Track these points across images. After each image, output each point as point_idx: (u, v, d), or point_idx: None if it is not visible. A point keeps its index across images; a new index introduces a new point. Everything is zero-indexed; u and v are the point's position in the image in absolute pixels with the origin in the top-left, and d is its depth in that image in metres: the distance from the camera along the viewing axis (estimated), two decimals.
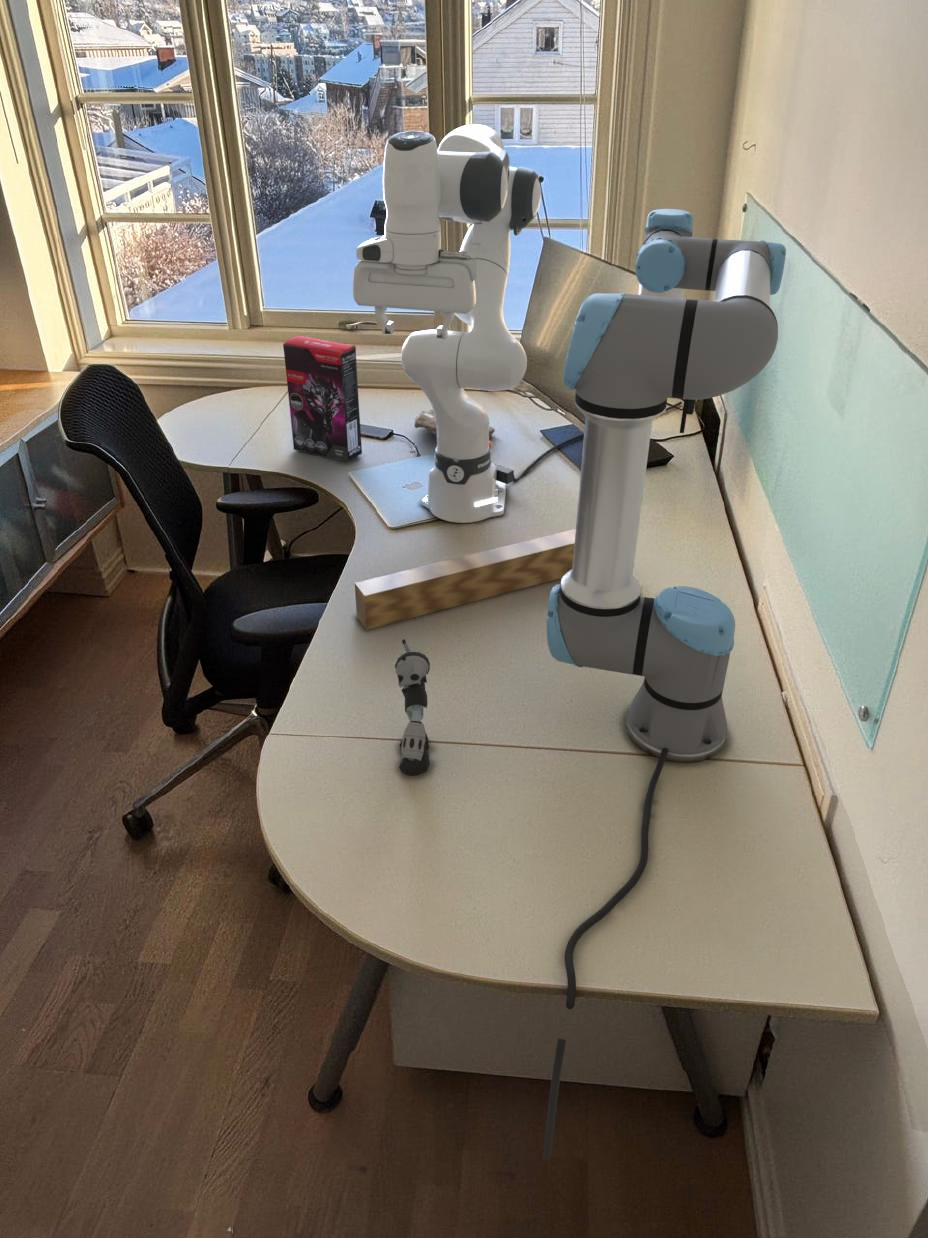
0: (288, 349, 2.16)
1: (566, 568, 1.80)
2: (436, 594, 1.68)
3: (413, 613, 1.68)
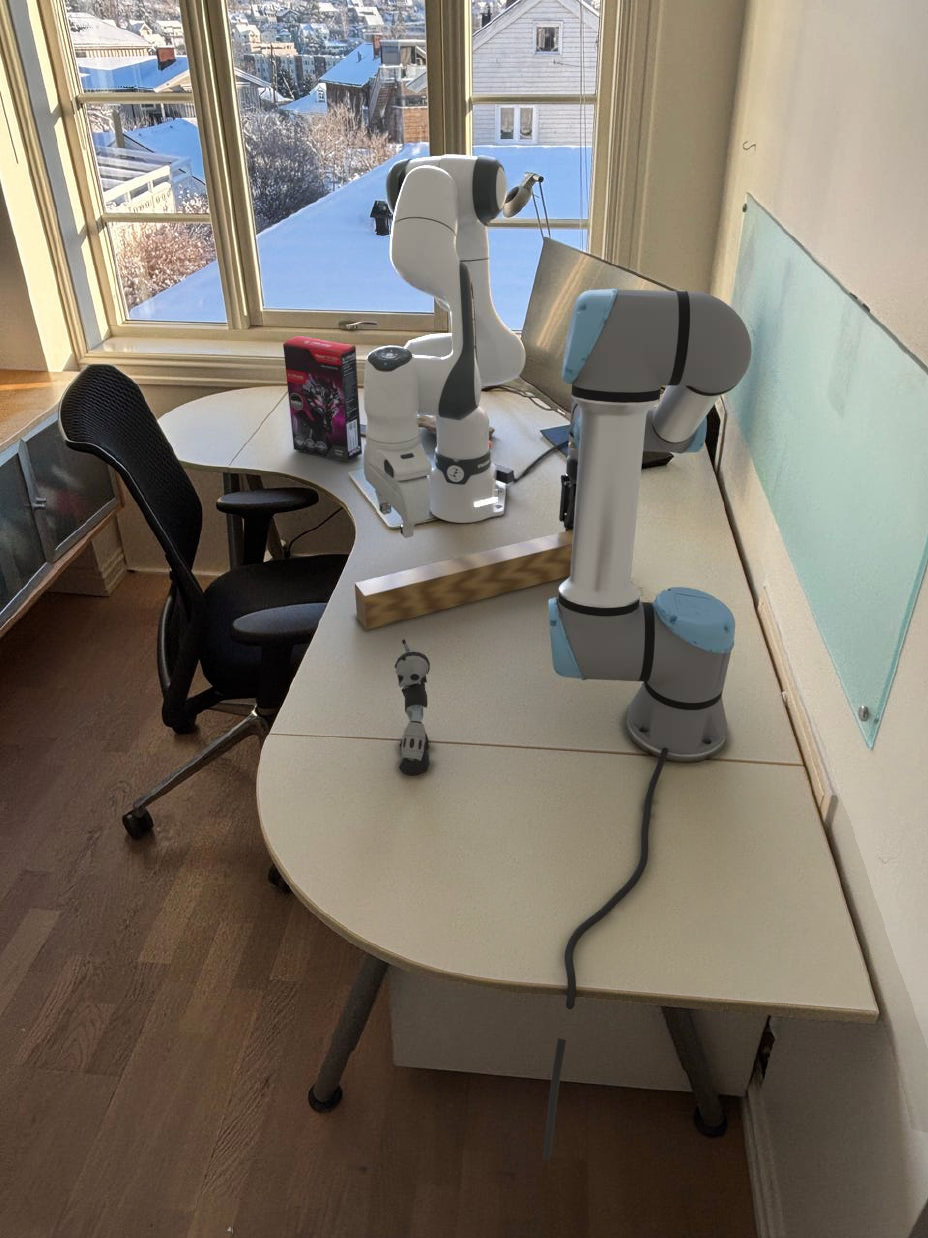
0: (288, 349, 2.16)
1: (566, 568, 1.80)
2: (436, 594, 1.68)
3: (413, 613, 1.68)
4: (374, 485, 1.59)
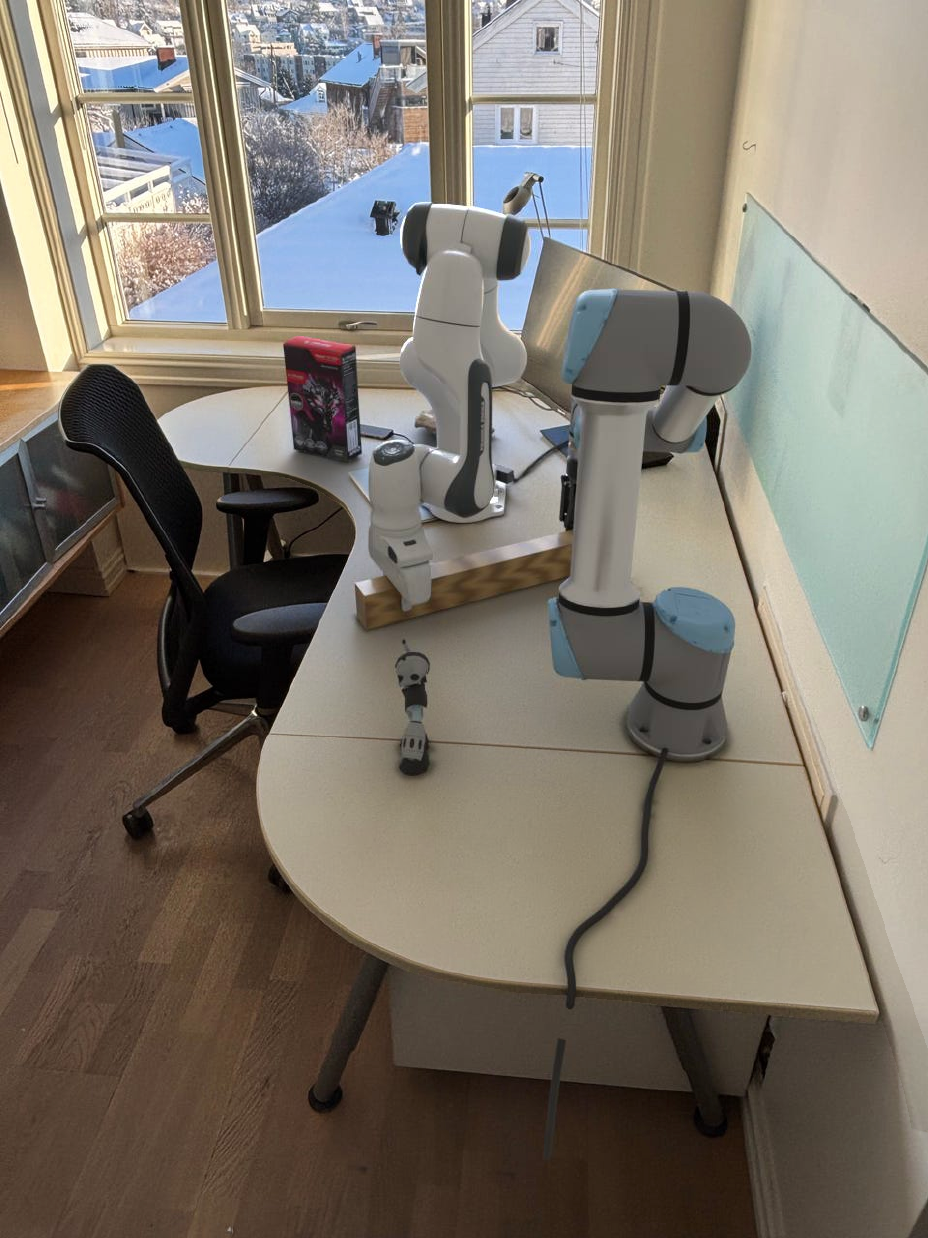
0: (288, 349, 2.16)
1: (566, 568, 1.80)
2: (436, 594, 1.68)
3: (413, 613, 1.68)
4: (378, 564, 1.68)
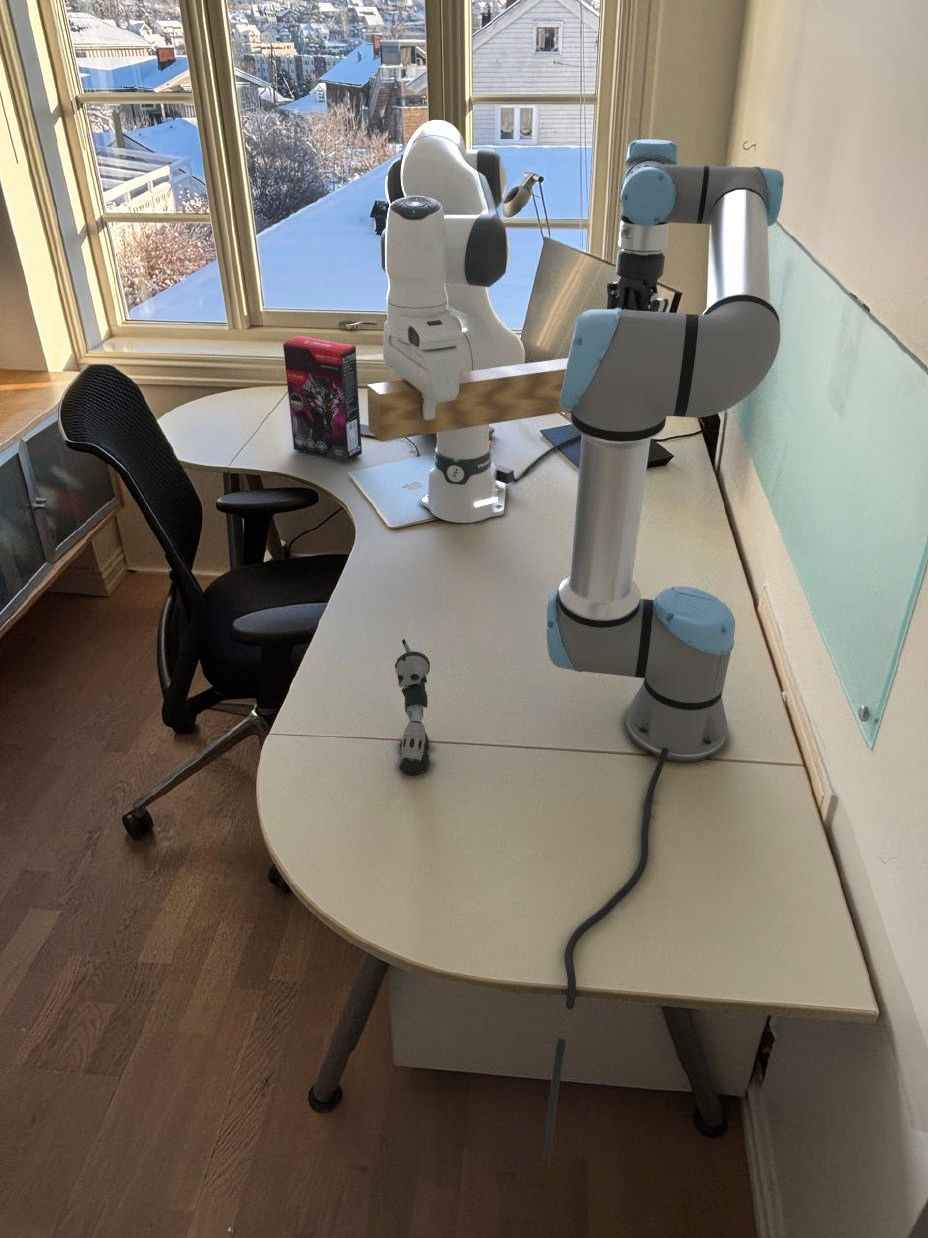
0: (288, 349, 2.16)
1: None
2: (463, 405, 1.42)
3: (436, 427, 1.42)
4: (395, 368, 1.42)
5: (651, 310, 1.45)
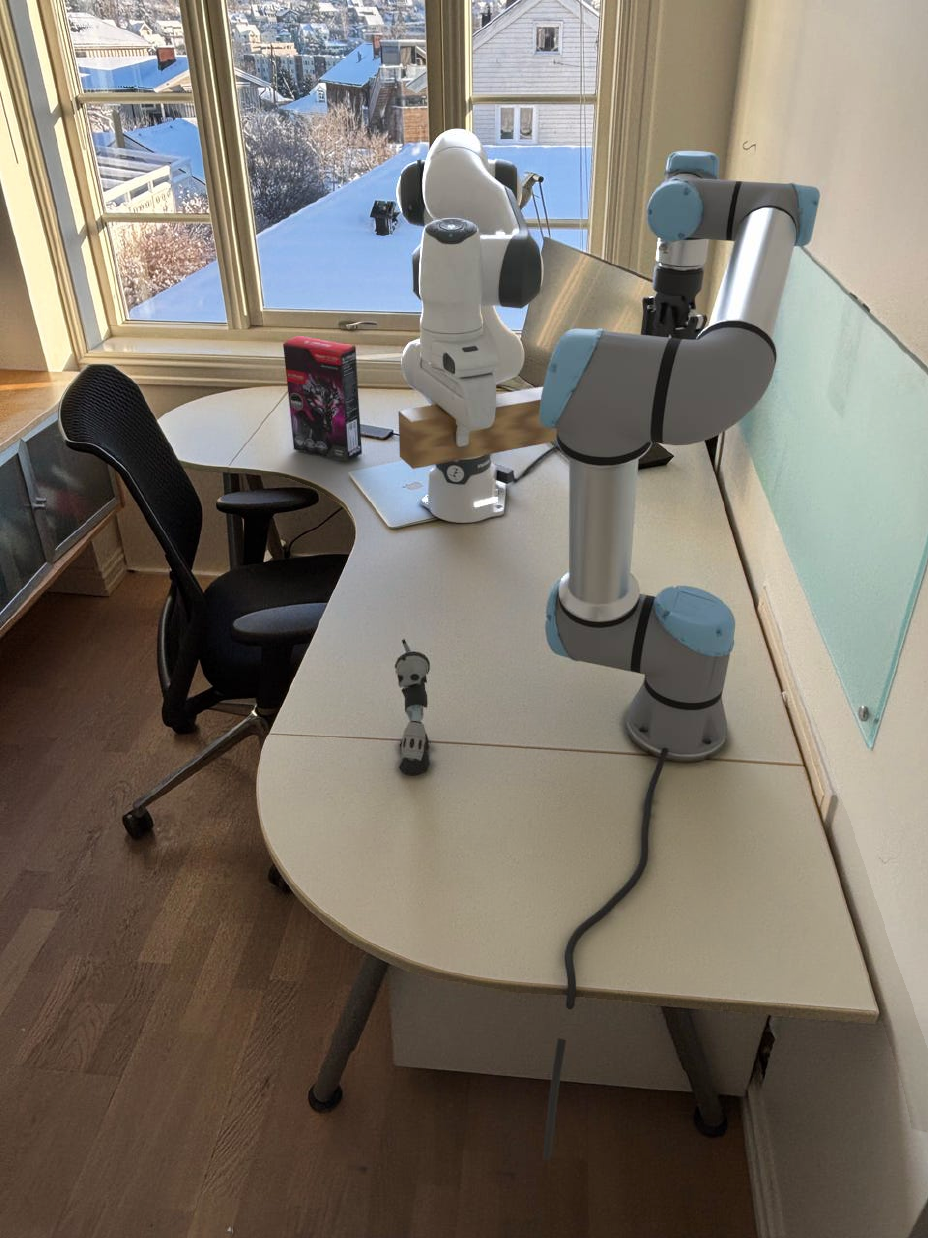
0: (288, 349, 2.16)
1: None
2: (496, 429, 1.38)
3: (469, 452, 1.38)
4: (426, 392, 1.38)
5: (689, 327, 1.41)
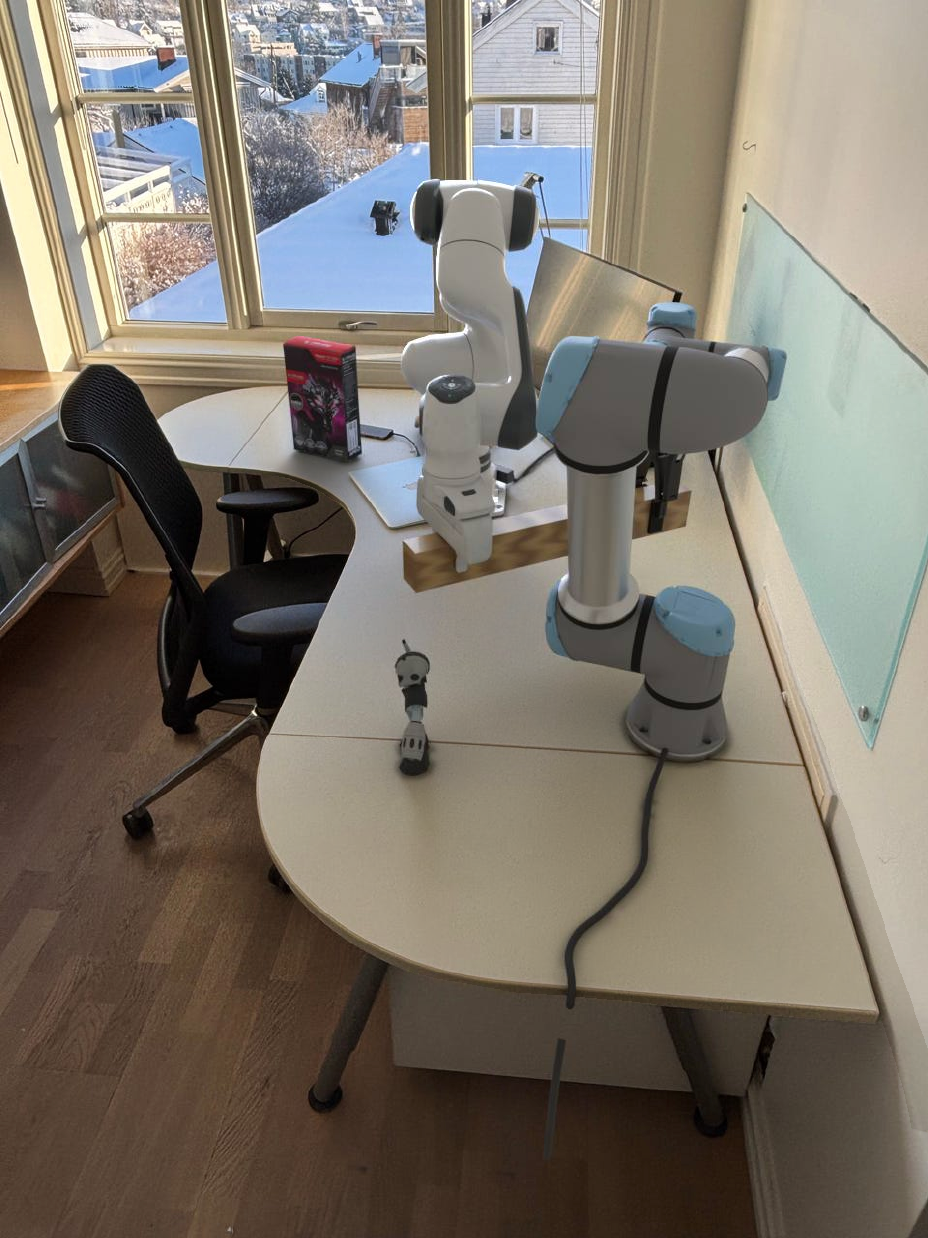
0: (288, 349, 2.16)
1: (634, 529, 1.62)
2: (492, 554, 1.50)
3: (467, 575, 1.50)
4: (428, 520, 1.50)
5: (670, 458, 1.53)
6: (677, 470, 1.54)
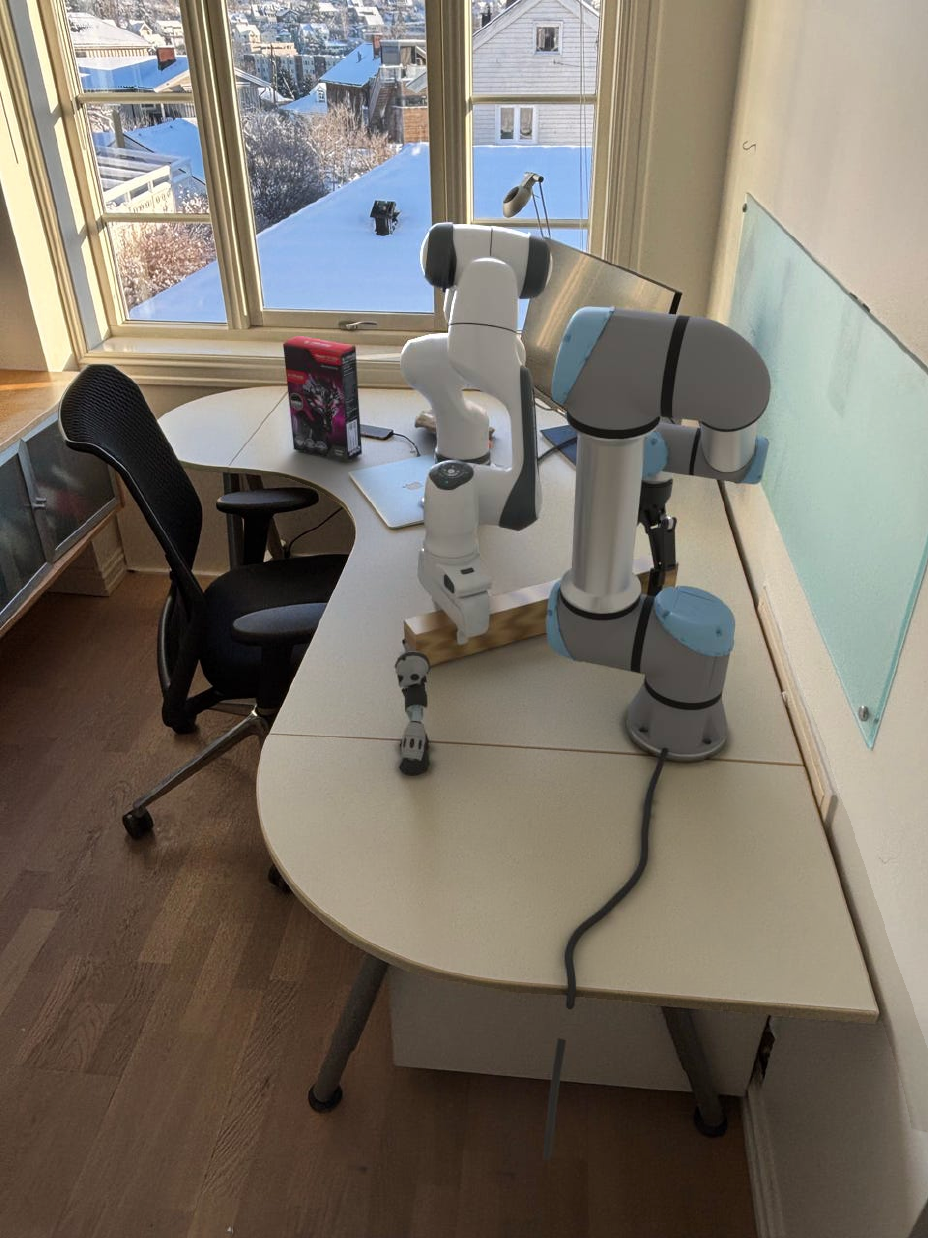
0: (288, 349, 2.16)
1: None
2: (489, 631, 1.59)
3: (465, 651, 1.58)
4: (429, 591, 1.57)
5: (662, 528, 1.60)
6: (670, 539, 1.61)
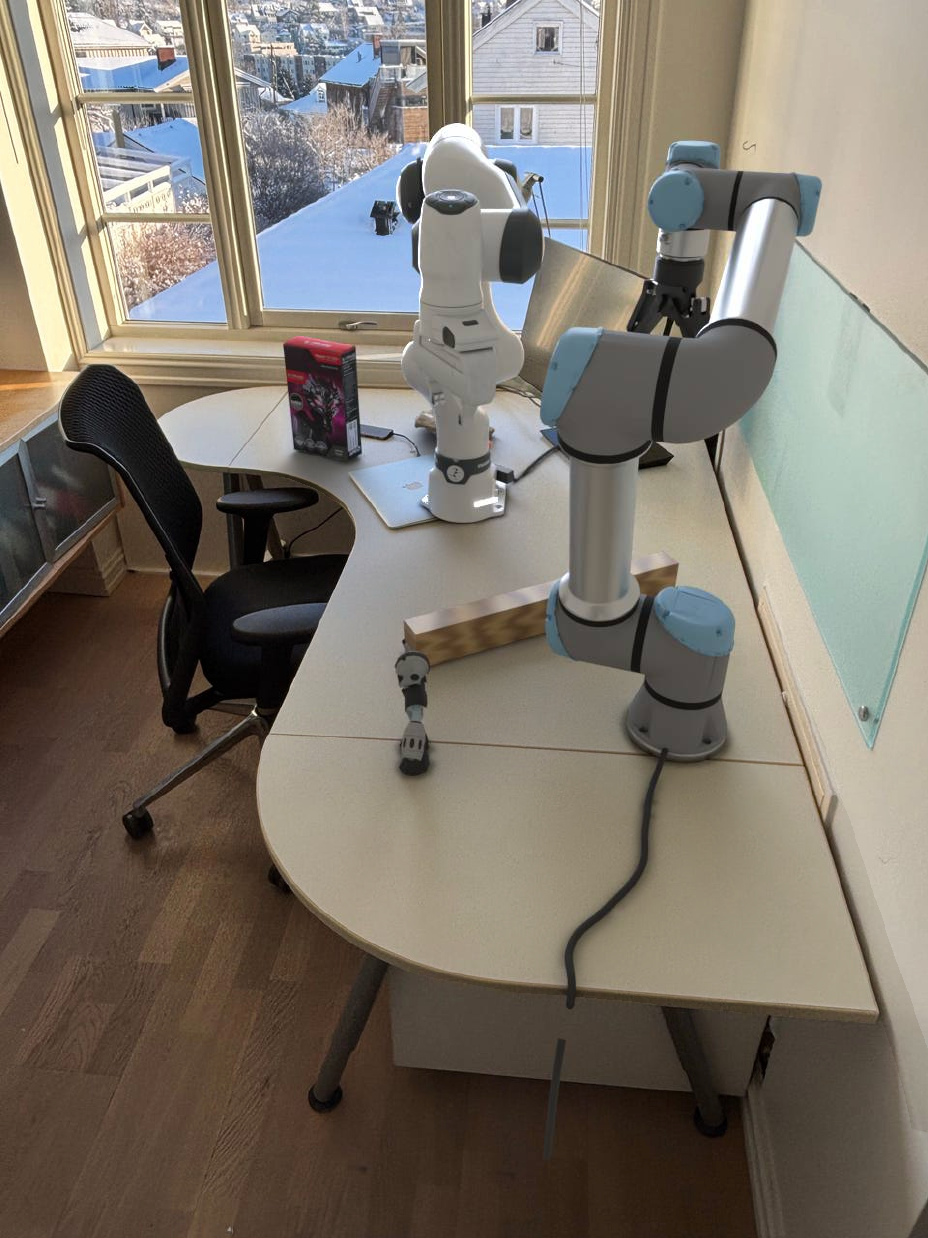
0: (288, 349, 2.16)
1: None
2: (489, 631, 1.59)
3: (465, 651, 1.58)
4: (426, 369, 1.36)
5: (694, 310, 1.39)
6: (706, 324, 1.39)
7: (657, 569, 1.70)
